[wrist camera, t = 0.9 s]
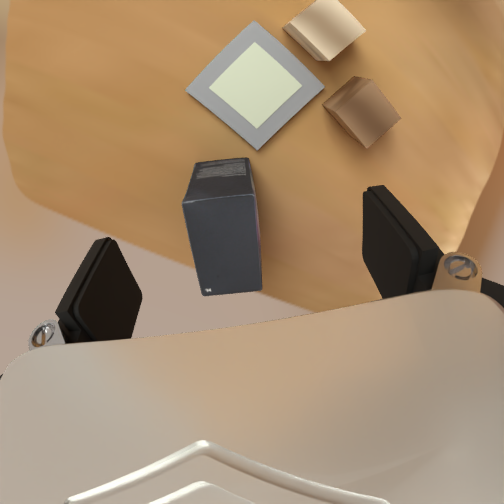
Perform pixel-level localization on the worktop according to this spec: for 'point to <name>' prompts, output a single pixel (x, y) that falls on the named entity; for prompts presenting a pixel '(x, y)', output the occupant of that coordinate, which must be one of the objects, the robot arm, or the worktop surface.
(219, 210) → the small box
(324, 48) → the oak cube
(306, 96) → the grey square plate
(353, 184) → the worktop surface
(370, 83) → the walnut cube
